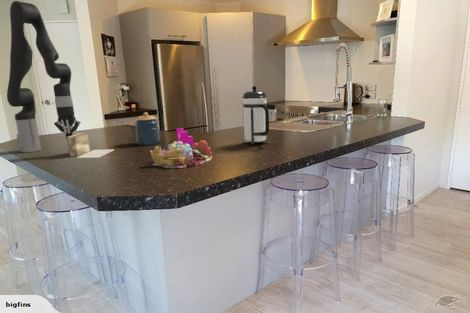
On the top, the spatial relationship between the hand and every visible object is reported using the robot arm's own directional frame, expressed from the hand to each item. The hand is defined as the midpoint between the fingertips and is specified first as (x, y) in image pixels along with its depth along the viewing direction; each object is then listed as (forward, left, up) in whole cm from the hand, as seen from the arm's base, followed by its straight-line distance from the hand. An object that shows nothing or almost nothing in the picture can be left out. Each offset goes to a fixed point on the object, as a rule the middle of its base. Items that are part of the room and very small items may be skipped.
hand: (70, 140), depth 167 cm
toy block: (+53, +23, -8) cm, 58 cm away
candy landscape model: (+61, -19, -8) cm, 64 cm away
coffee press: (+93, +18, -7) cm, 95 cm away
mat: (+13, 0, -7) cm, 15 cm away
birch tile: (+4, 0, -7) cm, 8 cm away
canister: (+31, +25, -7) cm, 41 cm away
